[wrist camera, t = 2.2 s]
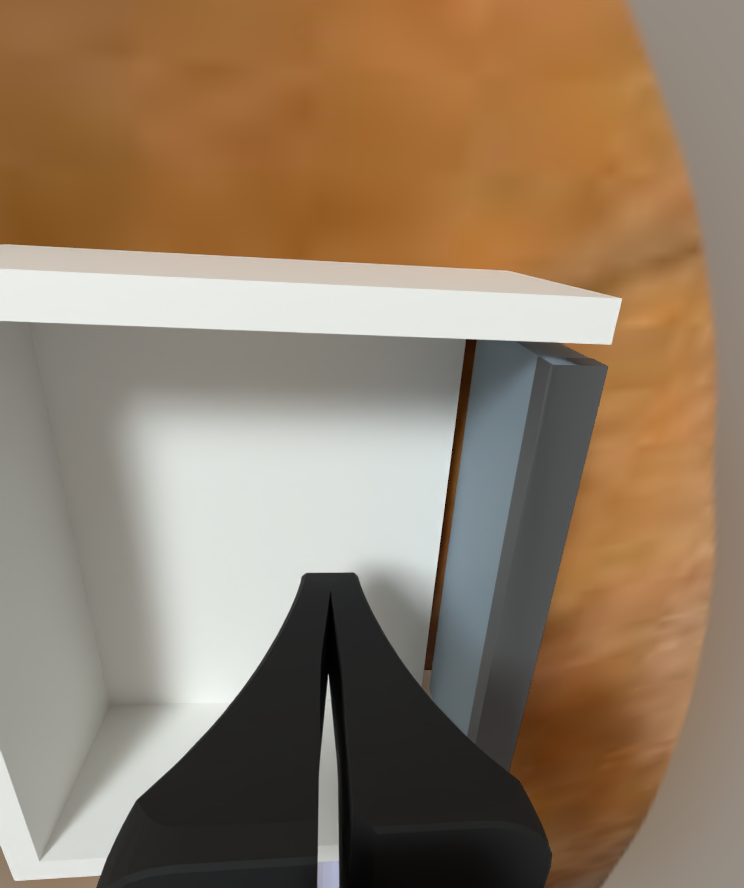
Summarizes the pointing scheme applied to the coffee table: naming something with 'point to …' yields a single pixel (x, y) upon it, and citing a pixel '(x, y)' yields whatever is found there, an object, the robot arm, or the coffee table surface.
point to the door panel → (509, 530)
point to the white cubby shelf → (212, 496)
